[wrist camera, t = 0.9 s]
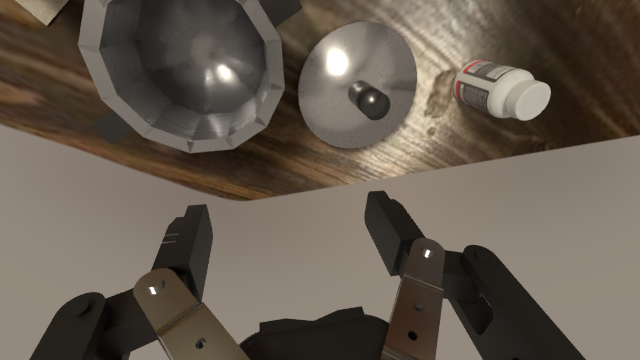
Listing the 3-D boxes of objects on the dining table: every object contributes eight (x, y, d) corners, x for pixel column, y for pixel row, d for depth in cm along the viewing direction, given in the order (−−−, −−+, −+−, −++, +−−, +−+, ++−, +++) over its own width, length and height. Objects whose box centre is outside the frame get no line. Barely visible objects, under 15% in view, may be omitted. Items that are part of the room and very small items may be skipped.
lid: (383, -9, 29) (420, -13, 23) (422, 104, 37) (457, 124, 31) (271, 69, 31) (276, 85, 24) (331, 160, 38) (347, 190, 32)
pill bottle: (475, 104, 38) (535, 131, 30) (444, 97, 37) (499, 123, 29) (496, 64, 36) (568, 81, 28) (464, 54, 34) (530, 69, 26)
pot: (237, -92, 23) (231, -131, 17) (320, 63, 31) (339, 78, 25) (65, 44, 25) (0, 57, 19) (184, 155, 33) (167, 192, 27)
